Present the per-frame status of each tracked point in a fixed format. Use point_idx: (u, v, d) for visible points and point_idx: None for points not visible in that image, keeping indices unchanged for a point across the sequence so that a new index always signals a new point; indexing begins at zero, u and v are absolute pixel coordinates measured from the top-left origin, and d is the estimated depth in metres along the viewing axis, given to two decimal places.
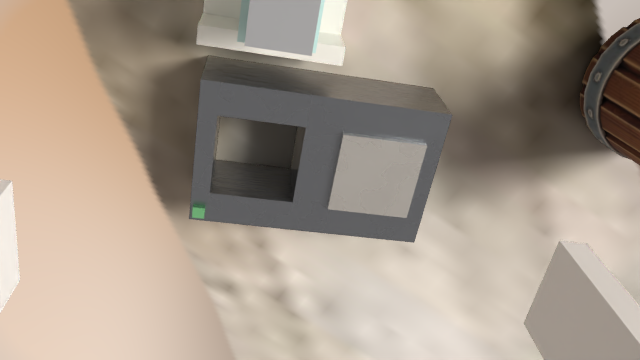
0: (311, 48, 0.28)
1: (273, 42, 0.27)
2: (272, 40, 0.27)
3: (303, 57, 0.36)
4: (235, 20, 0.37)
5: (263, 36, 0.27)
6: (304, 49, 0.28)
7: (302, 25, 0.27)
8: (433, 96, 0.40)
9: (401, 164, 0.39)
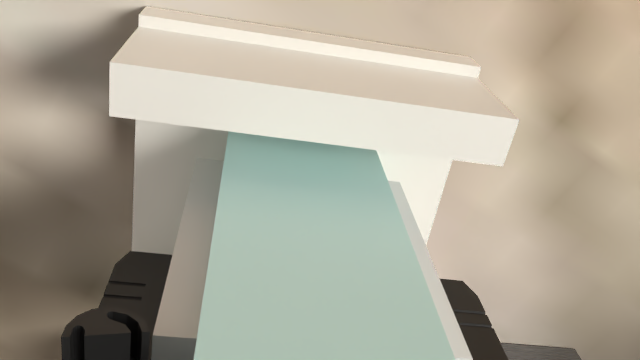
0: None
1: None
2: None
3: None
4: None
5: None
6: None
7: None
8: None
9: None
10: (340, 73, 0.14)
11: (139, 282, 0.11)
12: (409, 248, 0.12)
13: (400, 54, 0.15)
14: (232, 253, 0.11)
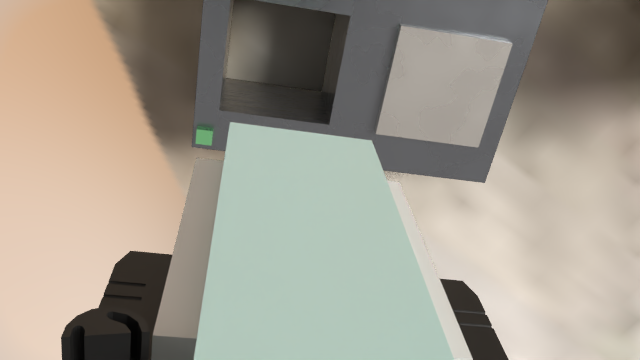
0: None
1: None
2: None
3: None
4: None
5: None
6: None
7: None
8: None
9: (476, 70, 0.29)
10: None
11: (139, 282, 0.11)
12: (409, 250, 0.12)
13: None
14: (232, 255, 0.11)
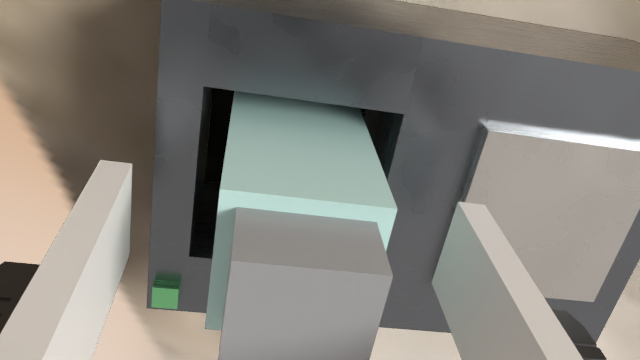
0: None
1: None
2: None
3: None
4: None
5: None
6: None
7: (343, 342, 0.12)
8: None
9: (604, 195, 0.18)
10: None
11: (4, 297, 0.10)
12: (369, 142, 0.16)
13: None
14: (243, 137, 0.15)
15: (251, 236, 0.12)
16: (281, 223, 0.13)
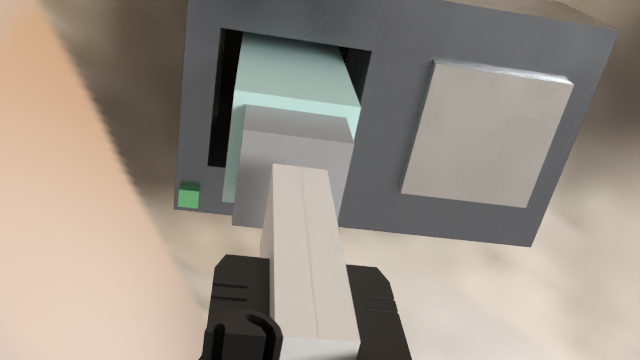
0: None
1: None
2: None
3: None
4: None
5: (260, 211, 0.18)
6: None
7: None
8: (571, 10, 0.25)
9: (528, 117, 0.23)
10: None
11: (240, 285, 0.12)
12: (345, 71, 0.22)
13: None
14: (250, 64, 0.20)
15: (256, 119, 0.17)
16: (277, 114, 0.18)
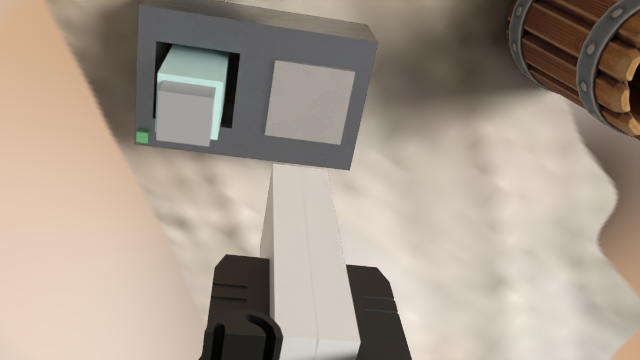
0: (208, 141, 0.36)
1: (178, 137, 0.36)
2: (177, 136, 0.36)
3: None
4: None
5: (170, 133, 0.36)
6: (202, 142, 0.36)
7: (199, 125, 0.36)
8: (365, 29, 0.43)
9: (332, 90, 0.41)
10: None
11: (240, 284, 0.12)
12: (225, 64, 0.40)
13: None
14: (171, 60, 0.38)
15: (167, 86, 0.35)
16: (179, 84, 0.36)
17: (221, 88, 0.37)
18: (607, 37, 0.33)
